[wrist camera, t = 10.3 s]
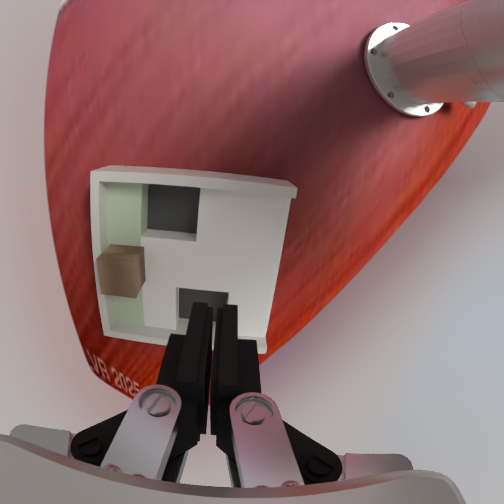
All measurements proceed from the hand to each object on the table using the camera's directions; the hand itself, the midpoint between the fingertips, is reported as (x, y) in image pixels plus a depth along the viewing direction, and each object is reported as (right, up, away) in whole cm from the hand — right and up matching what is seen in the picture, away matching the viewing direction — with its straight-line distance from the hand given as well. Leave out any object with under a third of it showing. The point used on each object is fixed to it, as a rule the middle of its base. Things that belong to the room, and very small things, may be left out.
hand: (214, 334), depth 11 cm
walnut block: (-12, +2, +19) cm, 23 cm away
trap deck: (-6, +3, +23) cm, 23 cm away
